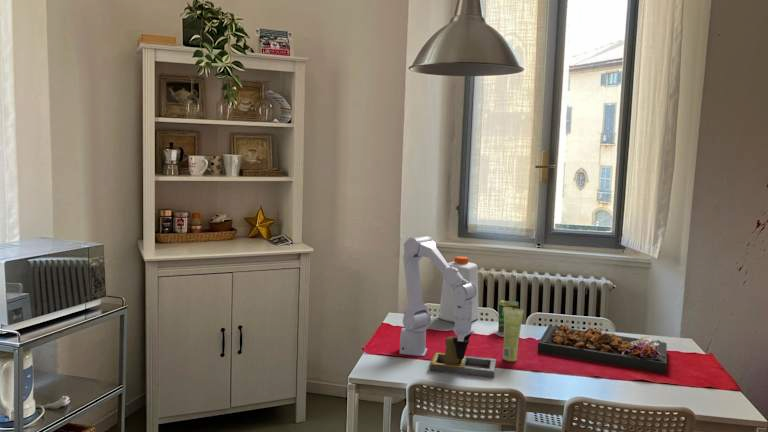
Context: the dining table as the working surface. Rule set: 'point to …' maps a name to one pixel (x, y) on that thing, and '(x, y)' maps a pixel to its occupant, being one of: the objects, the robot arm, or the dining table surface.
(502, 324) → the coffee box
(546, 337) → the food platter
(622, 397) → the dining table surface
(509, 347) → the tube
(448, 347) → the cork
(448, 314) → the plastic bottle
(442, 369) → the rail plate
